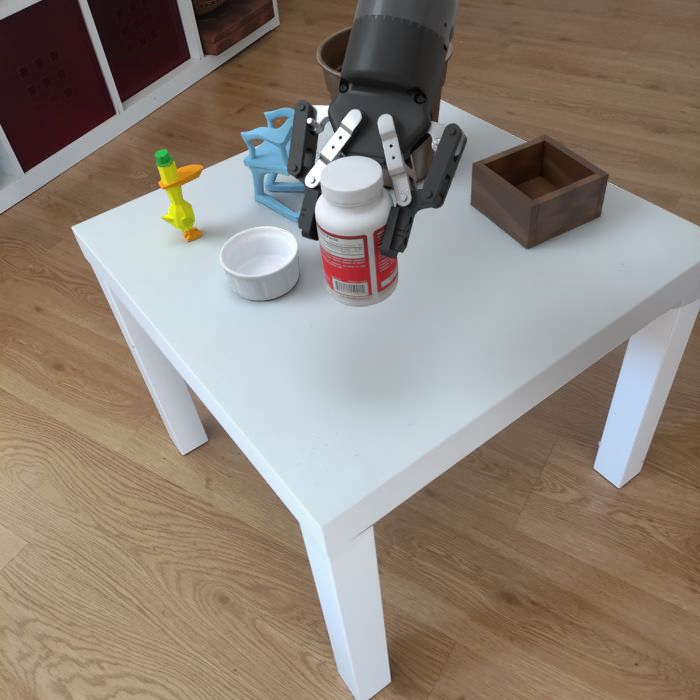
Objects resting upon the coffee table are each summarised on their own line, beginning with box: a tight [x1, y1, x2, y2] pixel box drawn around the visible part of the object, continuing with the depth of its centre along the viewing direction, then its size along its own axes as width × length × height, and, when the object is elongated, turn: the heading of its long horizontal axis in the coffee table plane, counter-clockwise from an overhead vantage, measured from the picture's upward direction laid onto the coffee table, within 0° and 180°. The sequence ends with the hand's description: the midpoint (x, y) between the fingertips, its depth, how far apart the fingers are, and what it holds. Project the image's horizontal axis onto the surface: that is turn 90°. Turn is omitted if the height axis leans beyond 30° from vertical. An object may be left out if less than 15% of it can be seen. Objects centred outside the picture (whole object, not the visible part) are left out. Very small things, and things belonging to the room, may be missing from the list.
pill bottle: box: [315, 156, 399, 308], centre depth 57 cm, size 6×6×11 cm
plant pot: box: [316, 25, 454, 190], centre depth 91 cm, size 16×16×16 cm
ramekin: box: [218, 225, 300, 302], centre depth 81 cm, size 9×9×4 cm
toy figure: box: [154, 148, 204, 243], centre depth 86 cm, size 7×4×12 cm, turn 125°
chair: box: [240, 107, 305, 224], centre depth 89 cm, size 8×8×12 cm
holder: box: [470, 134, 610, 250], centre depth 86 cm, size 11×11×6 cm
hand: (348, 247), depth 56 cm, fingers closed on pill bottle, 6 cm apart
